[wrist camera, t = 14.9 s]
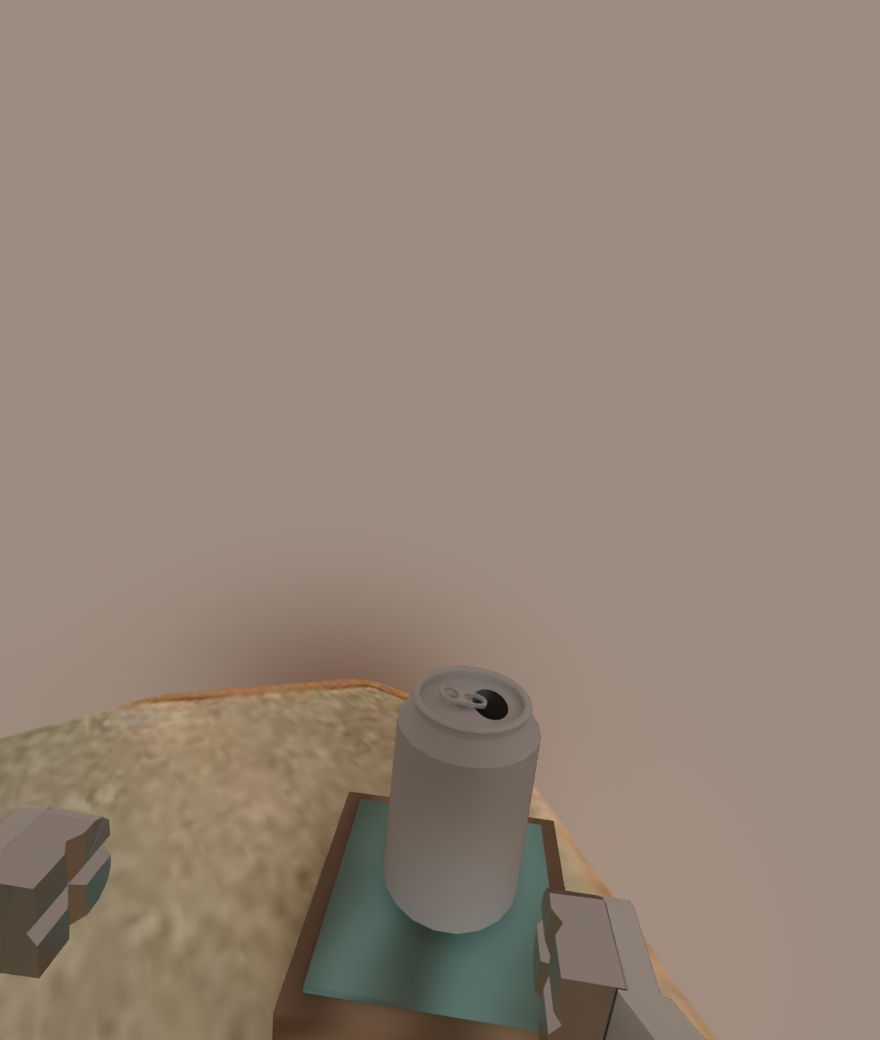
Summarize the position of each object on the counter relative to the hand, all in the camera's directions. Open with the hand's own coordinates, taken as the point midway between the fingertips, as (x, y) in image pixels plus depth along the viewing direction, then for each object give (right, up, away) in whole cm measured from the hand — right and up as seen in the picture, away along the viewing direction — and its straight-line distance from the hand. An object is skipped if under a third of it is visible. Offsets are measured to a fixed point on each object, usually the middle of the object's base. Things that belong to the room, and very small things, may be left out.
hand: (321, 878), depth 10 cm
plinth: (+2, -18, +21) cm, 28 cm away
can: (+3, -14, +21) cm, 25 cm away
